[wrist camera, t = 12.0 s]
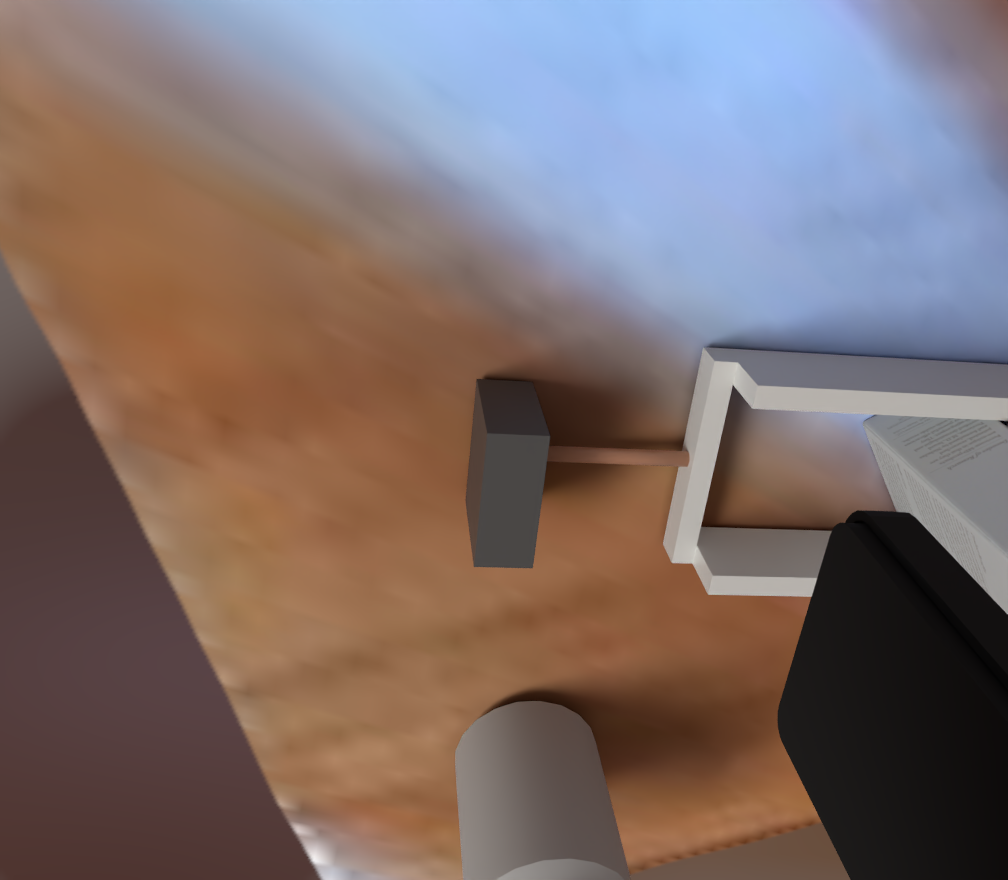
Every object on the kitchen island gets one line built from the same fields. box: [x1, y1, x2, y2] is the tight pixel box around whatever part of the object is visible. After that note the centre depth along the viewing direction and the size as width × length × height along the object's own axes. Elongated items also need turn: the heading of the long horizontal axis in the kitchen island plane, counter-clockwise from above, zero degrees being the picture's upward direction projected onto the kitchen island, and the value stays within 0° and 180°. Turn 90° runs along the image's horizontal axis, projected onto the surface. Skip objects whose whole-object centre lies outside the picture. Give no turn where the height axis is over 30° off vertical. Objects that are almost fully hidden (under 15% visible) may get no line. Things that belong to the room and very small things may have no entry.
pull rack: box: [466, 347, 1008, 597], centre depth 40 cm, size 10×26×6 cm, turn 84°
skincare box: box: [863, 415, 1008, 614], centre depth 38 cm, size 6×4×12 cm
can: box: [455, 701, 631, 880], centre depth 44 cm, size 8×8×12 cm
